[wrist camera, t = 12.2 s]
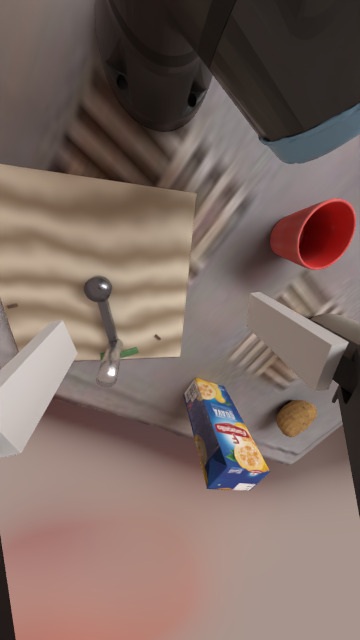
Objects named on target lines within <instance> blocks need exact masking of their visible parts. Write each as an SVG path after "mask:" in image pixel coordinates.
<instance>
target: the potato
mask: <svg viewBox="0 0 360 640" xmlns="http://www.w3.org/2000/svg"><path fill="white" fill-rule="evenodd" d="M316 415H317V409H316V408H315V406H314V405H312V404H311V403H309V402H307V401H302V400H294V401H291V402H290V403H288V404H286V405H285V406H284V407H283V408H282V409H281V410H280V411H279V413H278V415H277V424H278V427H279V428H280V430H281V431H282V432H283V434H285V435H286V436H289V437H294V436H296V435H298V434H299V433H300V432H302V431H304V430H305V429H307V428H308V427H309V425H310V424H311V423H312V422H313V421H314V420H315V418H316Z"/></svg>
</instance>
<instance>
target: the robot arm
mask: <svg viewBox="0 0 360 640" xmlns="http://www.w3.org/2000/svg"><path fill="white" fill-rule="evenodd" d="M95 25H96V34H97V40H98V45H99V50H100V54H101V58H102V62H103V66H104V70H105V73H106V76H107V78H108V81H109V83H110V86H111V88H112V90H113V92H114V94H115V95H116V97H117V99H118V100H119V102H120V103H121V105H122V106H123V107H124V109H125V110H126V111H127V112H128V113H129V114H130V115H131V116H132V117H133V118H134V119H135V120H136V121H138V122H139V123H141V124H142V125H144V126H146V127H148V128H150V129H153V130H157V131H171V130H175V129H178V128H180V127H182V126H183V125H185V124H186V123H187V122H189V121H190V120H191V119H192V118H193V116H194V115H195V114H196V113H197V111H198V110H199V108H200V106H201V104H202V102H203V100H204V98H205V95H206V93H207V91H208V88H209V85H210V82H211V79H212V75H213V76H214V77H215V78H216V80H217V81H218V82H219V84H220V85H221V86H222V88H223V89H224V90H225V92H226V93H227V94H228V96H229V97H230V98H231V100H232V101H233V102H234V104H235V105H236V106H237V108H238V109H239V110H240V112H241V113H242V114H243V116H244V117H245V118H246V120H247V121H248V122H249V124H250V125H251V126H252V127H253V129H254V130H255V131H256V133H257V134H258V136H259V140H260V141H261V142H262V143H263V144H264V145H268V147H269V148H270V149H271V150H272V151H273V152H274V153H275V155H276V156H277V157H278V158H279V159H280V160H281V161H283V162H285V163H288V164H295V163H298V164H300V163H305V162H308V161H311V160H314V159H316V158H319V157H321V156H323V155H325V154H327V153H329V152H331V151H333V150H335V149H336V148H338V147H340V146H341V145H343V144H345V143H346V142H348V141H349V140H351V139H353V138H354V137H356V136H357V135H358V134H360V0H95ZM247 326H248V327H249V328H250V329H251V330H252V331H253V332H254V333H255V334H256V335H257V336H258V337H259V338H260V339H261V340H262V341H263V342H264V343H265V344H266V345H267V346H268V347H269V348H270V349H271V350H272V351H273V352H274V353H275V354H276V355H277V356H278V357H279V358H280V359H281V360H282V361H283V362H284V363H285V364H286V365H287V366H288V367H289V368H290V369H291V370H292V371H293V372H294V373H295V374H296V375H297V376H298V377H299V378H300V379H301V380H302V381H303V382H304V383H305V384H306V385H308V386H309V387H310V388H311V389H312V390H313V391H314V392H316V391H321V390H326V389H329V386H330V384H331V382H332V380H334V381H335V382H336V383H338V384H339V386H338V388H337V390H336V392H335V395H334V397H333V399H332V402H333V403H335V402H336V400H337V399H339V405H340V411H341V416H342V422H343V427H344V433H345V438H346V444H347V449H348V455H349V460H350V466H351V472H352V477H353V483H354V488H355V494H356V499H357V505H358V510H359V515H360V345H358V344H356V343H354V342H352V341H351V340H349V339H347V338H345V337H343V336H342V335H340V334H338V333H336V332H334V331H332V330H331V329H329V328H327V327H325V326H323V325H322V324H320V323H318V322H316V321H313V320H310V319H307V318H305V317H303V316H302V315H300V314H298V313H296V312H294V311H293V310H291V309H289V308H287V307H286V306H284V305H282V304H280V303H279V302H277V301H275V300H273V299H272V298H270V297H268V296H266V295H264V294H263V293H261V292H255V293H250V298H249V308H248V318H247ZM76 355H77V351H76V348H75V346H74V344H73V342H72V340H71V337H70V335H69V333H68V331H67V329H66V326H65V324H64V322H63V320H61V321H54V322H50V323H49V324H48V325H47V326H46V327H45V328H44V329H43V330H42V331H41V332H40V333H39V334H38V335H36V336H35V337H34V338H33V339H32V340H31V341H30V342H29V343H28V344H27V345H26V346H25V347H24V348H23V349H22V350H21V351H20V352H19V353H18V354H17V355H16V356H15V357H14V358H12V359H11V360H10V361H9V362H8V363H7V364H6V365H5V366H4V367H3V368H2V369H1V370H0V458H2V457H7V456H12V455H16V454H20V453H21V452H22V451H23V449H24V447H25V445H26V444H27V442H28V440H29V438H30V437H31V435H32V433H33V431H34V430H35V428H36V426H37V424H38V422H39V421H40V419H41V417H42V415H43V414H44V412H45V410H46V408H47V406H48V405H49V403H50V401H51V399H52V398H53V396H54V394H55V392H56V391H57V389H58V387H59V385H60V384H61V382H62V380H63V378H64V376H65V375H66V373H67V371H68V369H69V368H70V366H71V364H72V362H73V361H74V359H75V357H76ZM0 640H16V639H15V633H14V625H13V619H12V613H11V605H10V598H9V592H8V584H7V578H6V572H5V564H4V557H3V551H2V544H1V537H0Z"/></svg>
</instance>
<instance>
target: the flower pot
mask: <svg viewBox="0 0 360 640" xmlns="http://www.w3.org/2000/svg"><path fill="white" fill-rule="evenodd" d="M355 227H356V215H355V211H354V209H353V207H352V206H351V205H350V204H349V203H348V202H347V201H345V200H343V199H330V200H327V201H324V202H321V203H318V204H315V205H313V206H310V207H308V208H305V209H303V210H300V211H298V212H295V213H293V214H291V215H289V216H286V217H284V218H283V219H281V220H280V221H279V222H278V223H277V224H276V225H275V227H274V228H273V230H272V233H271V236H270V246H271V248H272V250H273V252H274V253H276V254H277V255H279V256H281V257H283V258H285V259H287V260H290V261H292V262H294V263H296V264H298V265H301V266H303V267H305V268H308V269H312V270H318V269H323V268H326V267H328V266H330V265H332V264H333V263H334V262H336V261H337V260H338V259H339V258H340V257H341V256H342V255H343V254H344V252H345V251H346V249H347V248H348V246H349V244H350V242H351V240H352V238H353V235H354V231H355Z"/></svg>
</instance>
